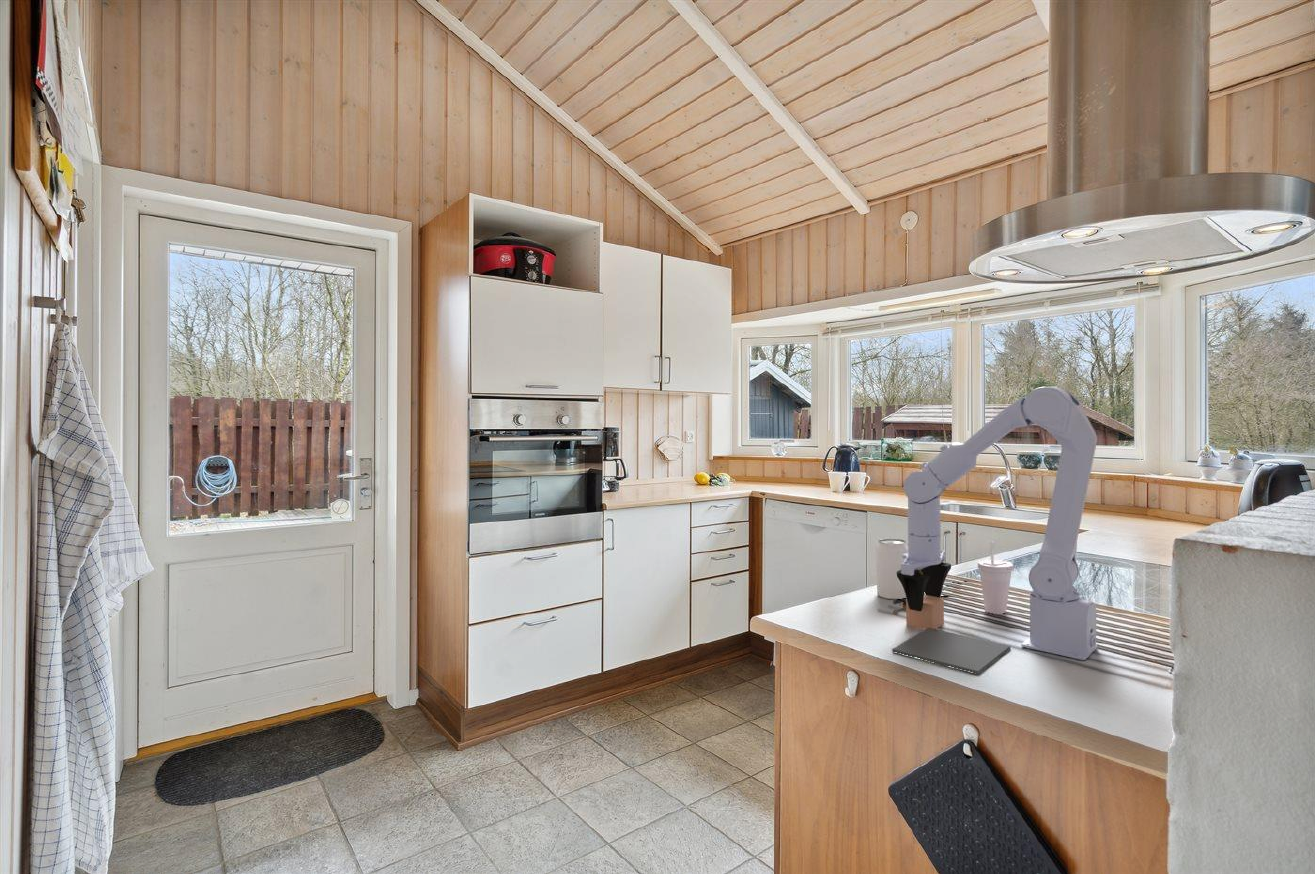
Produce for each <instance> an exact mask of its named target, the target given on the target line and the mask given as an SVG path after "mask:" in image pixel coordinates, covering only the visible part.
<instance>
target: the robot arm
mask: <svg viewBox="0 0 1315 874" xmlns="http://www.w3.org/2000/svg"><path fill="white" fill-rule="evenodd" d="M1031 425H1037V426H1039V428H1042V429H1044V430H1046V431H1048V433H1049V434H1050V435H1051V436H1052V437H1053V438H1054V439H1055V440H1056V441H1057V443H1058V444H1059V445H1060V446H1061V452H1060V455H1059V461H1058V467H1057V471H1056V475H1055V482H1054V486H1053V492H1052V497H1051V502H1050V508H1049V512H1048V519H1047V523H1046V529H1045V532H1044V533H1045V534H1044V538H1043V541H1042V545H1041V548H1040V551H1039V554H1038V555H1039V556H1038V559H1037V561H1036V563H1034V565H1033V566H1032V567H1031V568H1030V570H1029V571H1028V582H1029V585H1030V586H1031V587H1030V589H1029V637H1028V638H1026V639H1025V640H1024V641H1023V642H1021V645H1020V646H1021V647H1023V648H1027V649H1032V650H1035V651H1041V652H1045V653H1048V654H1054V655H1058V656H1063V657H1068V658H1071V659H1076V660H1080V661H1085V660H1087V659H1088V657H1090V656H1091V655H1092V654H1093V652H1094V651H1095V650H1096V649H1097V648H1098V644H1097V608H1096V607H1097V606H1096V603H1095V602H1094V601H1091V600H1087V599H1084V598H1081V596H1080V592H1079V591H1078V590H1077V588H1076V587H1075V586H1074V583H1075V582H1076V580H1077V579H1078V577H1079V573H1080V568H1079V564H1078V562H1077V559H1076V558H1077V557H1076V554H1077V550H1078V536H1079V534H1080V527H1081V523H1082V518H1083V517H1082V516H1083V513H1084V509H1085V508H1084V507H1085V503H1086V498H1087V493H1088V488H1089V484H1090V483H1089V482H1090V477H1091V474H1092V473H1091V472H1092V468H1093V463H1094V457H1095V454H1096V453H1095V452H1096V449H1097V444H1098V436H1097V433H1096V431H1095V430H1094V427H1093V425H1092V424H1091V422H1090V420H1089V418H1088V416H1087V413H1086V412H1085V411H1084V408H1083V406H1082V403H1081V401H1080V400H1078V398H1077V397H1075V396H1074V395H1073V394H1072V393H1071V392H1069V391H1068V390H1067V389H1065V388H1063V387H1061V386H1057V385H1056V386H1054V385H1053V386H1040V387H1036V388H1034V389H1033V390H1031V391H1030V392H1029V393H1028V394H1027V395H1026V396H1023V397H1021V398H1019V399H1018V400H1015V401H1014V402H1013V403H1011V404H1010V405H1008V406H1007V407H1005V408H1004V409H1002V410H1001V411H1000V412H999V413H998V414H996V415H995V416H994V417H993V418H992V419H990V420H989V421H988V422H987V423H985V424H984V425H983V427H981V428H980V429H979V430H978V431H977V432H975V433H974V434H973V435H972V436H971V437H970V438H968V439H967V440H966V441H964V442H955V441H954V442H952V443H950V444H948V443H946V444H943V445H942V446H941V447H939V450H940V452H938V453H937V455H935V456H934V457H932V458H931V459H930V460H929V461H928V462H927V461H924V462H921V464H920V468H921V469H920V470H915V471H912V472H910V473H909V474H908V476H907V477H906V478H905V480H904V482H903V492H904V495H905V496H906V497H907V548H908V553H905V554H903V555H902V558H904V559H906V560H905V562H904V563H902V564H901V570H899V571H897V577H898V579H899V580H900V582H901V584H902V586H903V588H904V591H905V594H906V599H907V602H908V606H909V609H911V610H915V611H921V610H922V607H923V601H924V592H925V589H926V595H928V596H934V597H939V598H942V597H941V593H942V588H943V587H944V584H945V581H946V578H947V576H948V574H949V572H950V570H951V569H952V564H951V563H949V562H945V561H946V558H947V557H946V556H947V553H946V552H947V551H946V550H942V548H941V543H942V541H941V536H942V535H941V507H940V506H941V505H940V504H941V503H940V502H941V498H940V496H942V495H943V493H944V491H945V488H946V489H947V488H950V487H951V486H952V485H953V484H954V483H956V482H958V480H959V479H961V478H962V477H964V476H965V475H966V474H968V473H969V472H971V471H972V470H973V469H974V468H975V467H976V466H977V458H978V456H979V455H980V454H982V453H983V452H985V451H986V450H987V449H989V448H990V447H991V446H993V445H994V444H995V443H997V442H998V441H1000V440H1001V439H1003V438H1004V437H1005V436H1007V434H1009V433H1010V432H1012V431H1013V430H1015V429H1018V428H1024V427H1027V426H1028V427H1029V426H1031ZM919 570H922V573H923V575H921V573H919ZM943 589H944V588H943Z"/></svg>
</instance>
